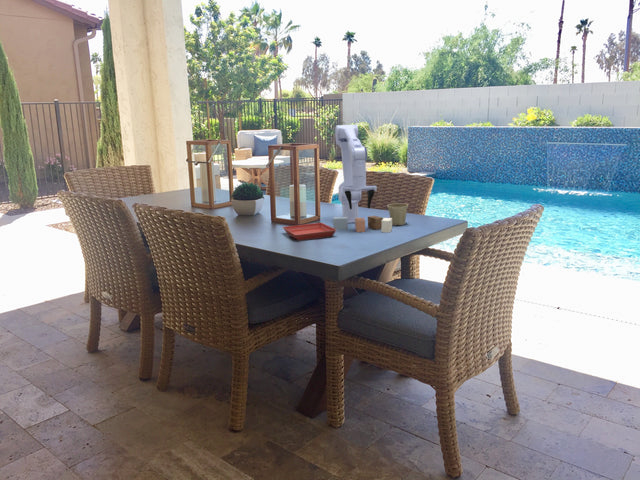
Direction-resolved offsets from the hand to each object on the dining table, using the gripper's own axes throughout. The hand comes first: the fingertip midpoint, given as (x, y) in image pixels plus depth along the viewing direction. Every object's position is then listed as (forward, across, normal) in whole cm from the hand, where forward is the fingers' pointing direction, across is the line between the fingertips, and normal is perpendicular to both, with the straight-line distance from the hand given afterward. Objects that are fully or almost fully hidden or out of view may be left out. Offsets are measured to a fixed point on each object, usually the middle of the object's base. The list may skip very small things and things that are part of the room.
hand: (359, 208), depth 223 cm
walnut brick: (+10, +7, +3) cm, 12 cm away
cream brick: (+10, +11, -3) cm, 15 cm away
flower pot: (+10, +18, +9) cm, 22 cm away
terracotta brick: (+10, 0, 0) cm, 10 cm away
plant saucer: (+10, -22, -4) cm, 25 cm away
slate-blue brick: (+10, -8, +5) cm, 14 cm away
